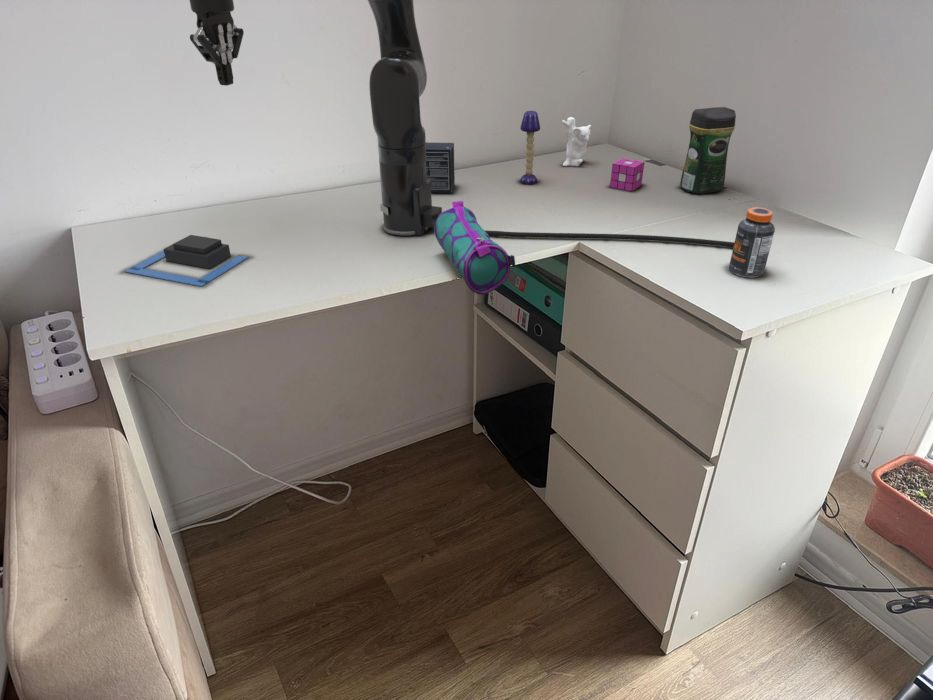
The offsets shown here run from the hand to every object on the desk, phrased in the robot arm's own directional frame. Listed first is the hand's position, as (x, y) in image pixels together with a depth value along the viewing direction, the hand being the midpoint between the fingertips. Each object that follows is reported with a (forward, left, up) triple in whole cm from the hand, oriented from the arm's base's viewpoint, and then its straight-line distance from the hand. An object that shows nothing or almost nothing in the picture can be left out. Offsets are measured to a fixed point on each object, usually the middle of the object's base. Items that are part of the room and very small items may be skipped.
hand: (226, 84), depth 128 cm
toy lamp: (-49, -44, -27) cm, 71 cm away
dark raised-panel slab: (-4, +22, -27) cm, 35 cm away
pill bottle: (-100, -8, -27) cm, 104 cm away
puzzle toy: (-72, -49, -27) cm, 91 cm away
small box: (-29, -31, -27) cm, 50 cm away
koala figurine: (-56, -63, -27) cm, 89 cm away
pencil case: (-54, +9, -27) cm, 61 cm away
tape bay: (-4, +24, -27) cm, 36 cm away
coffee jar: (-89, -53, -27) cm, 107 cm away
